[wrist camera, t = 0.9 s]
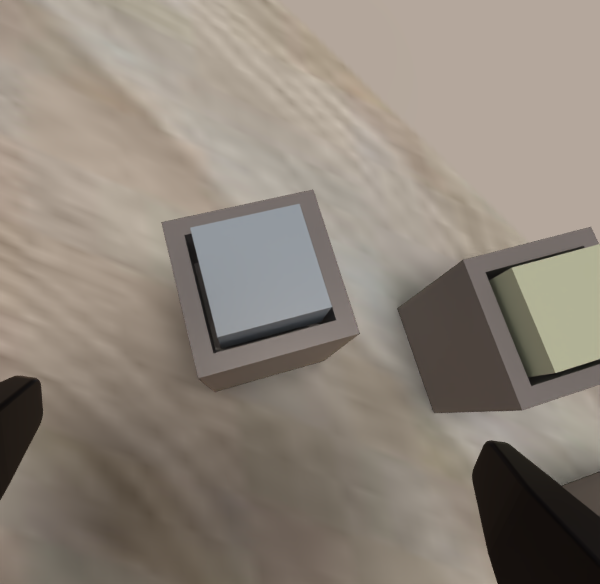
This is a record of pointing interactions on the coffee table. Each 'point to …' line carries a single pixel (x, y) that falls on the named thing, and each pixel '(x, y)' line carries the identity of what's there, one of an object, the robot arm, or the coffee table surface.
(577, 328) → the sage-green button
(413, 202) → the coffee table surface
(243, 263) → the slate-blue button
